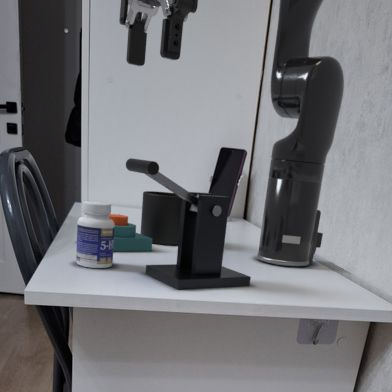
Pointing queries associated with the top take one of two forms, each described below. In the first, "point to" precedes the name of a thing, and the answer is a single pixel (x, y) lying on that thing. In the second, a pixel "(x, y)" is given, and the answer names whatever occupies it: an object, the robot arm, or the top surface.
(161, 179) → the lever
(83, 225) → the pill bottle
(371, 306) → the top surface
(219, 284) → the bracket
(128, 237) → the button box
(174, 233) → the mug
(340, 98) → the robot arm
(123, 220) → the button
